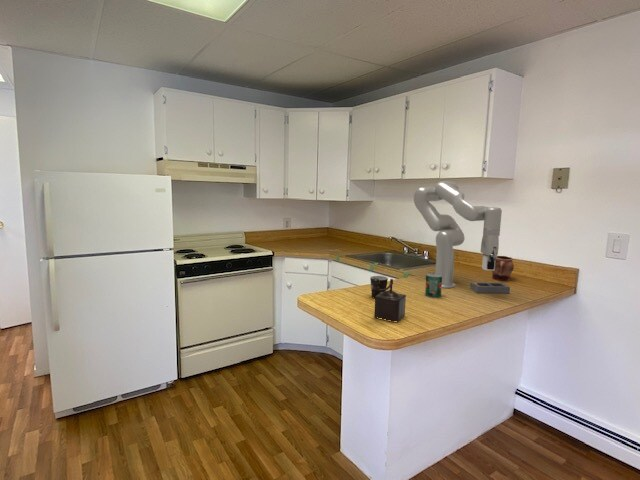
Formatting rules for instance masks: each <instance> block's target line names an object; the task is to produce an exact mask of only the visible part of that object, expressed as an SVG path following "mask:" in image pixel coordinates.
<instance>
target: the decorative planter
mask: <svg viewBox="0 0 640 480" xmlns="http://www.w3.org/2000/svg"><path fill="white" fill-rule="evenodd" d="M513 271H514V262H513V258H512V257H511V256H506V255H497V258H496V260H495V271H492V273H491V274H492V279H493V280H496V281H509V280H510V277H511V275H512V272H513Z"/></svg>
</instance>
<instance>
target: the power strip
mask: <svg viewBox="0 0 640 480" xmlns="http://www.w3.org/2000/svg"><path fill="white" fill-rule="evenodd" d="M469 285H470V287H469V288H470V290H471V291H473V292H474V293H476V294H499V293H500V294H501V293H502V294H504V295H507V294H509V295H510V294H511V293H510V292H511V287H510V286H509V285H506V284H505V283H503V282H481V281H479V282H475V281H473V282H472V281H470V283H469Z"/></svg>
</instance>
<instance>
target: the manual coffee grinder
mask: <svg viewBox="0 0 640 480" xmlns="http://www.w3.org/2000/svg"><path fill="white" fill-rule="evenodd" d="M389 281H390V282H389V285H387V287H386V288H385V289H379V287H378V285H379V284H380V280H379V279H377V278H373V279H371V280H370V286H371V285H372V286H373V287H372V289H373V290H378V291H383V292H380V293H379V294H378V295H377V296H375V299H374V316H373V318H374V317H378V318H382V319H386V320H391V321H399V320H400V319H401V318H402V317H403V316H404V315H406V298H407V295H406V294H402V293H398V292H396V291H394V290H393V285H394V279H393V278H391V279H390V280H389ZM404 317H405V316H404ZM404 317H403V318H404ZM403 318H402V319H403ZM402 319H401V320H402ZM401 320H400V321H401ZM400 321H399V322H400Z"/></svg>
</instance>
